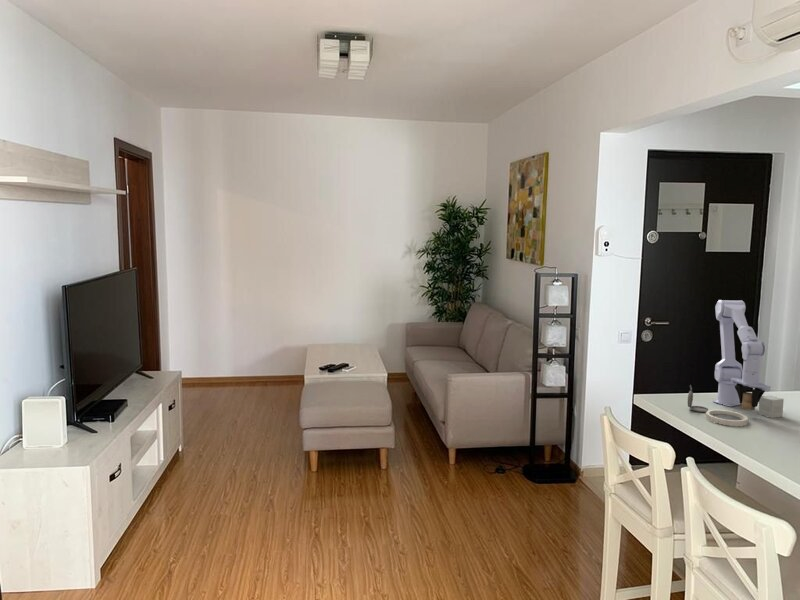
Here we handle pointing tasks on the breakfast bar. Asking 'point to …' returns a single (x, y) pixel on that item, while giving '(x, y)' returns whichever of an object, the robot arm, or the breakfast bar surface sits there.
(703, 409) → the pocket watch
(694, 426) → the breakfast bar surface
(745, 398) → the walnut cylinder
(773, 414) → the skincare box
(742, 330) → the robot arm
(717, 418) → the round tray
